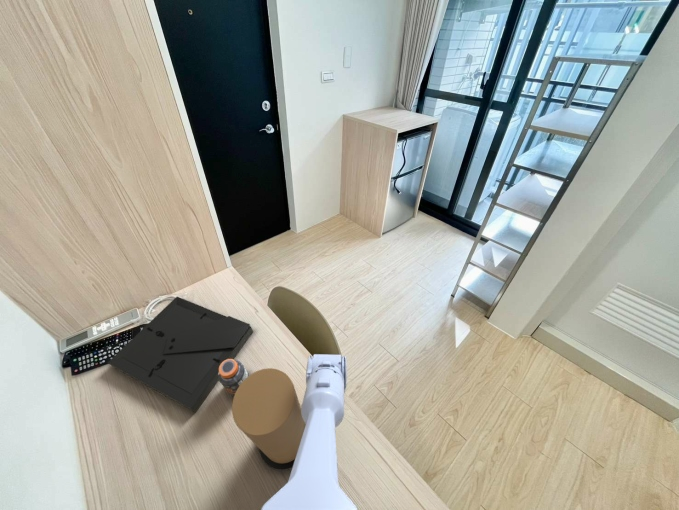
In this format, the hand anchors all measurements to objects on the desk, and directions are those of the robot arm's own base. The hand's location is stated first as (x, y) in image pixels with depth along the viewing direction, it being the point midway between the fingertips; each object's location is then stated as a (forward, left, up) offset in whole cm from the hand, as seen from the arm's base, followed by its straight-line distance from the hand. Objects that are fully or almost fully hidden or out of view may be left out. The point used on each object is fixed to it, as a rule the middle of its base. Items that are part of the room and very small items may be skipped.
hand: (330, 414), depth 60 cm
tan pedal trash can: (-3, +7, -3) cm, 8 cm away
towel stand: (-5, +10, -4) cm, 12 cm away
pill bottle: (+4, +25, -5) cm, 25 cm away
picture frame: (+11, +44, -5) cm, 45 cm away
